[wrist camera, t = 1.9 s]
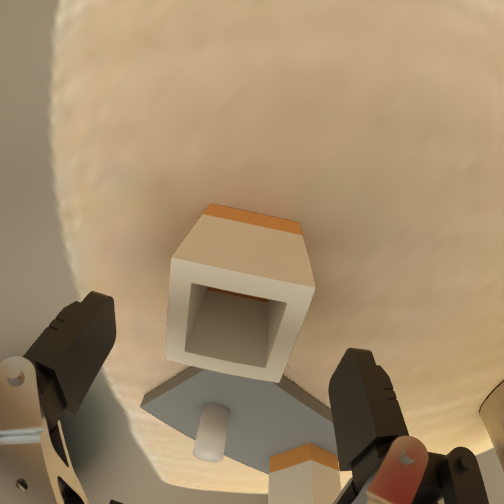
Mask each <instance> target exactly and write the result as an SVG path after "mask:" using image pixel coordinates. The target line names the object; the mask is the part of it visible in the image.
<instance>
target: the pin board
mask: <svg viewBox="0 0 504 504" xmlns="http://www.w3.org/2000/svg"><path fill="white" fill-rule="evenodd" d="M140 407H141V408H142V409H144V410H145V411H147V412H148V413H150V414H152V415H153V416H155V417H156V418H158V419H159V420H161V421H163V422H164V423H166V424H168V425H169V426H171V427H173V428H174V429H176V430H178V431H179V432H181V433H183V434H185V435H186V436H188V437H190V438H192V439H194V440H196V441H195V445H194V450H193V455H194V456H195V457H196V458H198V459H200V460H203V461H207V462H219V461H221V460H222V459H223V455H225V456H227V457H229V458H231V459H234V460H236V461H238V462H240V463H242V464H245V465H247V466H249V467H252V468H254V469H257V470H259V471H261V472H264V473H267V474H269V491H268V504H332V503H333V502H334V501H335V499H336V498H337V497H338V495H339V494H340V492H341V485H340V475H339V466H338V453H337V446H336V438H335V431H334V425H333V418H332V411H331V410H330V409H329V408H328V407H326V406H325V405H323V404H322V403H320V402H319V401H318V400H316V399H315V398H313V397H312V396H310V395H309V394H308V393H306V392H305V391H303V390H302V389H301V388H299V387H298V386H297V385H295V384H294V383H293V382H291V381H290V380H288V379H287V378H286V377H284V376H283V375H282V377H281V380H280V382H279V383H276V382H270V381H264V380H258V379H252V378H246V377H241V376H235V375H230V374H225V373H220V372H216V371H211V370H207V369H202V368H198V367H194V366H191V367H189V368H187V369H186V370H184V371H183V372H181V373H180V374H178V375H176V376H175V377H173V378H172V379H170V380H168V381H167V382H165V383H164V384H162V385H160V386H159V387H157V388H156V389H154V390H152V391H151V392H149V393H147V394H146V395H145V396H144V398H143V401H142V403H141V405H140Z"/></svg>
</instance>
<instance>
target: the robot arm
mask: <svg viewBox="0 0 504 504" xmlns="http://www.w3.org/2000/svg"><path fill="white" fill-rule="evenodd" d="M115 338H116V323H115V310H114V300H113V298H112V297H111V296H107V295H104V294H101V293H98V292H94V291H91V292H90V293H89V294H88V295H87V296H86V297H85V298H84V300H83V301H82V302H81V303H80V302H77V301H76V302H74V303H72V304H70V305H68V306H67V307H65V308H63V310H62V311H61V312H60V313H59V314H58V315H57V316H56V319H54V320H53V321H52V322H51V323H50V324H49V327H47V328H46V329H45V330H44V331H43V333H42V334H41V335H40V336H39V337H38V339H37V340H36V341H35V342H34V343H33V345H32V346H31V347H30V348H29V350H28V351H27V352H26V354H25V355H24V356H23V357H18V356H14V357H9V358H7V359H5V360H3V361H2V362H1V363H0V504H89V503H88V501H87V499H86V496H85V494H84V491H83V489H82V487H81V485H80V483H79V481H78V479H77V477H76V475H75V473H74V471H73V468H72V465H71V461H70V458H69V455H68V452H67V448H66V445H65V440H64V437H63V433H62V429H61V424H60V421H59V419H60V417H61V415H62V413H63V412H64V413H67V414H69V415H71V416H73V417H74V416H75V414H76V412H77V410H78V408H79V406H80V405H81V403H82V400H83V399H84V397H85V395H86V393H87V392H88V390H89V388H90V386H91V384H92V382H93V381H94V379H95V377H96V375H97V373H98V371H99V370H100V368H101V366H102V365H103V363H104V361H105V360H106V358H107V356H108V354H109V353H110V351H111V349H112V347H113V345H114V342H115ZM396 398H397V397H396V394H395V392H394V391H393V386H392V383H391V380H390V378H389V376H388V375H387V373H386V372H385V371H384V370H383V368H382V367H381V366H378V365H376V363H375V360H374V357H373V354H372V352H371V351H370V350H364V349H356V348H349V349H347V351H346V352H345V354H344V356H343V358H342V359H341V361H340V363H339V365H338V366H337V368H336V370H335V372H334V373H333V375H332V377H331V379H330V383H329V399H330V405H331V411H332V418H333V425H334V431H335V438H336V446H337V453H338V461H339V469H340V471H352V475H353V477H352V478H351V479H350V480H349V481H348V482H347V484H346V485H345V487H344V488H343V490H342V491H341V492H340V494H339V495H338V497H337V498H336V499H335V501H334V502H333V503H332V504H438V501H439V500H441V499H442V498H444V503H445V504H489V502H488V498H487V494H486V490H485V487H484V482H483V479H482V475H481V472H480V469H479V466H478V462H477V459H476V457H475V455H474V454H473V453H472V452H471V451H470V450H469V449H467V448H465V447H457V448H454V449H453V450H452V451H451V452H450V453H448V454H447V455H442V454H437V453H431V452H427V449H426V447H425V446H424V444H423V443H422V442H421V441H420V440H418V439H417V438H414V437H412V436H409V434H408V431H407V427H406V424H405V421H404V418H403V415H402V412H401V409H400V406H399V403H398V400H396ZM480 416H481V418H482V420H483V423H484V425H485V427H486V429H487V432H488V434H489V436H490V439H491V441H492V443H493V446H494V448H495V450H496V453H497V455H498V458H499V460H500V463H501V465H502V468H503V471H504V382H503V383H502V384H501V385H499V386H498V387H497V388H496V389H495V390H494V391H493V393H492V394H491V395H490V396H489V397H488V398H487V400H486V401H485V402H484V404H483V405H482V407H481V409H480ZM110 504H122V503H119V502H117V501H114V500H111V501H110Z"/></svg>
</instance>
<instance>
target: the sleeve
mask: <svg viewBox="0 0 504 504" xmlns="http://www.w3.org/2000/svg"><path fill="white" fill-rule="evenodd" d="M315 289H316V286H315V282H314V278H313V274H312V270H311V266H310V262H309V258H308V254H307V250H306V246H305V242H304V239H303V235H302V231H301V227H300V224H299V223H298V222H294V221H289V220H285V219H281V218H276V217H272V216H267V215H262V214H258V213H253V212H248V211H244V210H239V209H234V208H229V207H224V206H219V205H214V204H210V205H209V207H208V208H207V209H206V211H205V212H204V213H203V214H202V216H201V217H200V218H199V220H198V221H197V223H196V224H195V225H194V227H193V228H192V229H191V231H190V232H189V233H188V235H187V236H186V237H185V239H184V240H183V242H182V243H181V244H180V246H179V247H178V249H177V250H176V251H175V253H174V254H173V256H172V257H171V266H170V278H169V293H168V310H167V333H166V360H170V361H173V362H177V363H181V364H185V365H189V366H194V367H198V368H202V369H207V370H211V371H216V372H220V373H225V374H230V375H235V376H241V377H246V378H252V379H258V380H264V381H270V382H276V383H279V382H280V380H281V377H282V375H283V372H284V370H285V368H286V365H287V363H288V360H289V358H290V355H291V353H292V350H293V348H294V345H295V343H296V340H297V338H298V335H299V332H300V330H301V327H302V325H303V322H304V319H305V317H306V314H307V311H308V308H309V306H310V303H311V300H312V297H313V295H314V292H315Z"/></svg>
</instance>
